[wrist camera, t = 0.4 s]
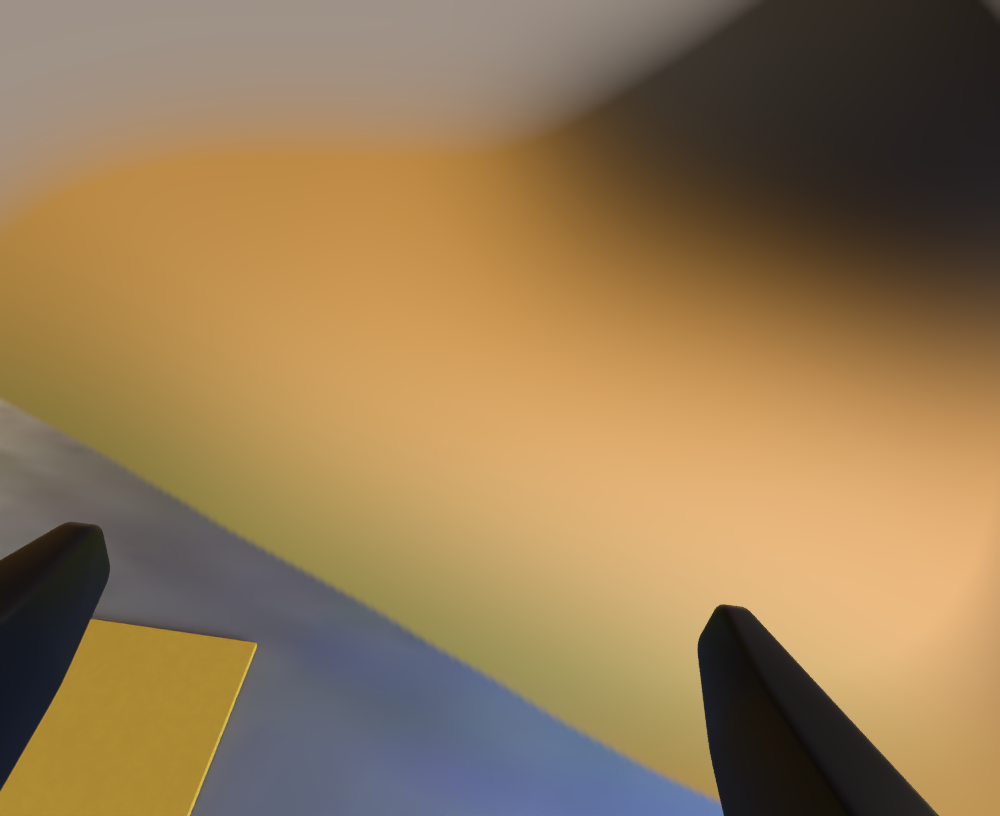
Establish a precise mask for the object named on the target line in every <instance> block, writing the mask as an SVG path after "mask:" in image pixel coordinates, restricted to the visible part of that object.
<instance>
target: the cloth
mask: <svg viewBox="0 0 1000 816" xmlns="http://www.w3.org/2000/svg"><path fill="white" fill-rule="evenodd" d="M256 648H257V643H254V642H247V641H240V640H233V639H226V638H220V637H213V636H206V635H199V634H192V633H185V632H178V631H171V630H165V629H158V628H151V627H144V626H137V625H130V624H123V623H116V622H109V621H103V620H96V619H91V620H90V622H89V624H88V626H87V629H86V631H85V633H84V635H83V638H82V640H81V642H80V644H79V647H78V649H77V651H76V654H75V656H74V658H73V660H72V663H71V665H70V667H69V669H68V671H67V674H66V676H65V678H64V680H63V682H62V684H61V686H60V688H59V690H58V692H57V693H56V695H55V697H54V699H53V701H52V703H51V704H50V706H49V708H48V710H47V711H46V713H45V715H44V717H43V718H42V720H41V722H40V724H39V725H38V727H37V729H36V730H35V732H34V734H33V736H32V737H31V739H30V741H29V743H28V744H27V746H26V748H25V750H24V751H23V753H22V755H21V756H20V758H19V760H18V762H17V763H16V765H15V767H14V769H13V770H12V772H11V774H10V776H9V777H8V779H7V781H6V782H5V784H4V786H3V788H2V789H1V791H0V816H190V814H191V811H192V809H193V806H194V804H195V801H196V799H197V796H198V794H199V791H200V789H201V786H202V784H203V781H204V779H205V776H206V774H207V771H208V769H209V766H210V764H211V761H212V759H213V756H214V754H215V751H216V749H217V746H218V744H219V741H220V739H221V736H222V734H223V731H224V728H225V726H226V723H227V721H228V718H229V716H230V713H231V711H232V708H233V706H234V703H235V701H236V698H237V696H238V693H239V691H240V688H241V686H242V683H243V681H244V678H245V676H246V673H247V671H248V668H249V666H250V663H251V661H252V658H253V656H254V653H255V651H256Z"/></svg>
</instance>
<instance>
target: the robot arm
mask: <svg viewBox="0 0 1000 816" xmlns="http://www.w3.org/2000/svg"><path fill="white" fill-rule="evenodd" d="M109 572H110V564H109V559H108V554H107V549H106V545H105V540H104V535H103V532H102V529H101V528H100V527H99V526H97V525H93V524H85V523H77V522H67V523H64V524H62V525H60V526H58V527H56V528H55V529H53V530H51V531H50V532H48V533H46V534H45V535H43V536H41V537H39V538H38V539H36V540H34V541H33V542H31V543H29V544H27V545H26V546H24V547H22V548H21V549H19V550H17V551H15V552H14V553H12V554H10V555H9V556H7V557H5V558H3V559H2V560H0V791H1V789H2V788H3V786H4V784H5V782H6V781H7V779H8V777H9V776H10V774H11V772H12V770H13V769H14V767H15V765H16V763H17V762H18V760H19V758H20V756H21V755H22V753H23V751H24V750H25V748H26V746H27V744H28V743H29V741H30V739H31V737H32V736H33V734H34V732H35V730H36V729H37V727H38V725H39V724H40V722H41V720H42V718H43V717H44V715H45V713H46V711H47V710H48V708H49V706H50V704H51V703H52V701H53V699H54V697H55V695H56V693H57V692H58V690H59V688H60V686H61V684H62V682H63V680H64V678H65V676H66V674H67V671H68V669H69V667H70V665H71V663H72V660H73V658H74V656H75V654H76V651H77V649H78V647H79V644H80V642H81V640H82V638H83V635H84V633H85V631H86V629H87V626H88V624H89V622H90V620H91V617H92V615H93V613H94V610H95V608H96V606H97V604H98V601H99V599H100V597H101V595H102V592H103V590H104V588H105V586H106V583H107V581H108V577H109ZM698 659H699V668H700V676H701V684H702V693H703V702H704V710H705V719H706V727H707V735H708V742H709V749H710V754H711V760H712V765H713V769H714V774H715V778H716V782H717V787H718V792H719V796H720V801H721V805H722V809H723V814H724V816H939V815H938V814H937V813H936V812H935V811H934V810H933V809H932V808H931V807H930V806H929V804H928V803H927V802H926V801H925V800H924V799H923V798H922V797H921V796H920V795H919V794H918V792H917V791H916V790H915V789H914V788H913V787H912V786H911V785H910V784H909V783H908V782H907V781H906V779H904V777H903V776H902V775H901V774H900V773H899V772H898V771H897V770H896V769H895V768H894V766H893V765H892V764H891V763H890V762H889V761H888V760H887V759H886V758H885V757H884V756H883V755H882V754H881V752H880V751H879V750H878V749H877V748H876V747H875V746H874V745H873V744H872V743H871V742H870V741H869V739H867V737H866V736H865V735H864V734H863V733H862V732H861V731H860V730H859V729H858V728H857V726H856V725H855V724H854V723H853V722H852V721H851V720H850V719H849V718H848V717H847V716H846V715H845V714H844V712H843V711H842V710H841V709H840V708H839V707H838V706H837V705H836V704H835V703H834V702H833V701H832V699H831V698H830V697H829V696H828V695H827V694H826V693H825V692H824V691H823V690H822V689H821V688H820V686H819V685H817V683H816V682H815V681H814V680H813V679H812V678H811V677H810V676H809V675H808V673H807V672H806V671H805V670H804V669H803V668H802V667H801V666H800V665H799V664H798V663H797V662H796V661H795V659H794V658H793V657H792V656H791V655H790V654H789V653H788V652H787V651H786V650H785V649H784V648H783V646H782V645H781V644H780V643H779V642H778V641H777V640H776V639H775V638H774V637H773V636H772V635H771V633H770V632H768V630H767V629H766V628H765V627H764V626H763V625H762V624H761V623H760V622H759V621H758V620H757V618H756V617H755V616H754V615H753V614H752V613H751V612H750V611H749V610H748V609H746V608H744V607H739V606H732V605H719V606H718V607H716V609H715V610H714V612H713V614H712V616H711V617H710V619H709V621H708V623H707V625H706V626H705V628H704V630H703V632H702V633H701V635H700V638H699V641H698Z"/></svg>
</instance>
